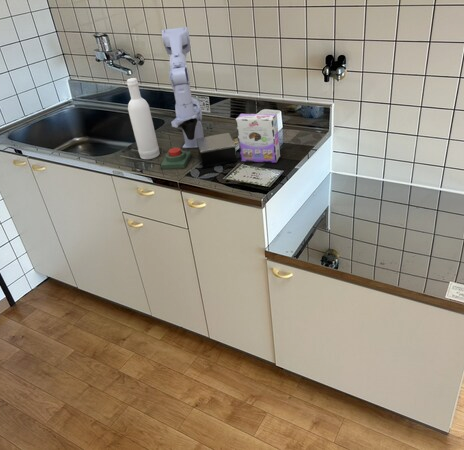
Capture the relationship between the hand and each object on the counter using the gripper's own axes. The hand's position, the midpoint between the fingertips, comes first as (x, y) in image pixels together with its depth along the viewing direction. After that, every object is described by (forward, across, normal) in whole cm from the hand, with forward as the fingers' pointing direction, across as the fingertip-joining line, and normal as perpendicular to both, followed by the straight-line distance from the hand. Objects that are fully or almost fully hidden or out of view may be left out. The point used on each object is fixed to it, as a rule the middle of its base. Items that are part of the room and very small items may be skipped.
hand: (191, 138), depth 171 cm
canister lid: (+3, +4, -7) cm, 9 cm away
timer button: (+6, -3, +6) cm, 9 cm away
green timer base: (+9, -4, +6) cm, 11 cm away
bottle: (+9, -3, +21) cm, 23 cm away
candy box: (+9, +10, -23) cm, 27 cm away
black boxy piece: (+9, +5, -7) cm, 12 cm away
